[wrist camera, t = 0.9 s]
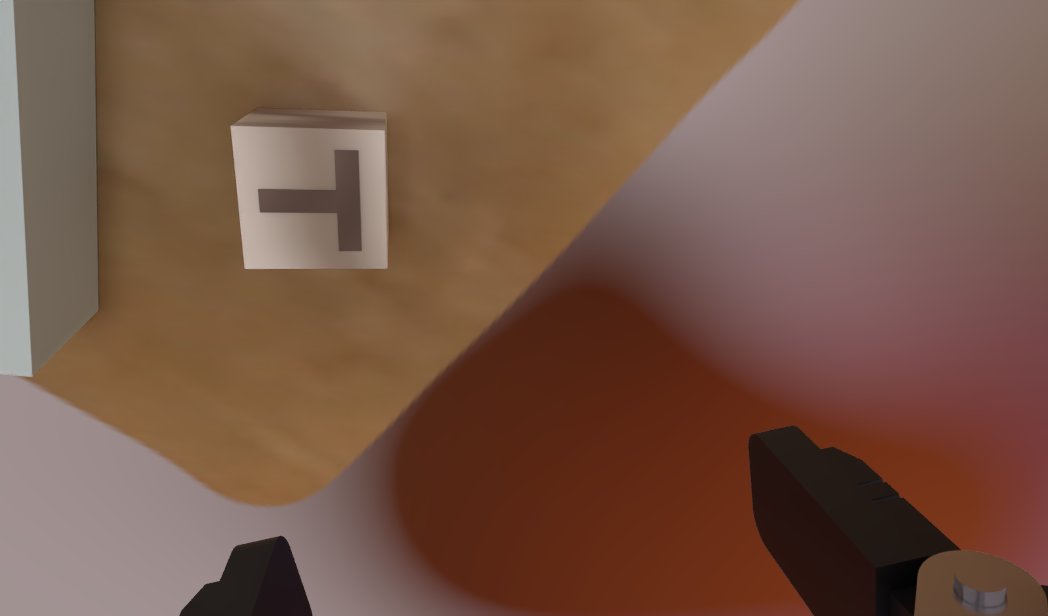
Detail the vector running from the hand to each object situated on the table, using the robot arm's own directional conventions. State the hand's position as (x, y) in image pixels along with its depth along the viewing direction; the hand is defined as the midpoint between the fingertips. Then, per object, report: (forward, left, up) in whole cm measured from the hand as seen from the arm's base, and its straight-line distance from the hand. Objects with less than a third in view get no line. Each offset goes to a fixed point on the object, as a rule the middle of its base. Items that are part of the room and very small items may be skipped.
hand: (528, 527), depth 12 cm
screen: (-14, +5, -21) cm, 25 cm away
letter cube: (-5, +2, -21) cm, 21 cm away
